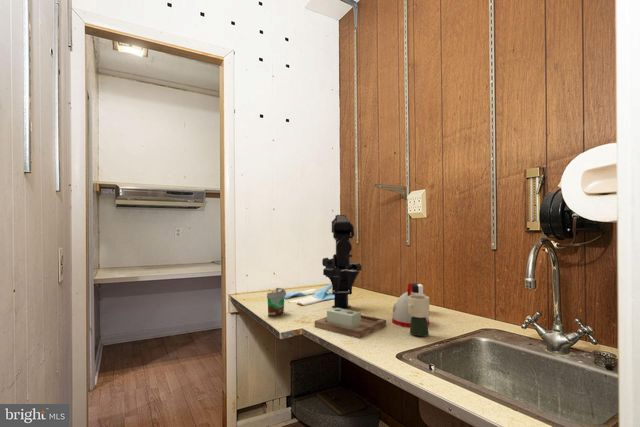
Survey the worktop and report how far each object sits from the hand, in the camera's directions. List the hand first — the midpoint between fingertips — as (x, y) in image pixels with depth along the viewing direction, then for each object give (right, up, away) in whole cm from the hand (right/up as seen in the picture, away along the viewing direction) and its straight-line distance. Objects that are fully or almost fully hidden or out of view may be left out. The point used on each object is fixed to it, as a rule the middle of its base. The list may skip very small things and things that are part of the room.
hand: (343, 290), depth 138 cm
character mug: (+25, -11, -21) cm, 34 cm away
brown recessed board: (+2, -11, -10) cm, 15 cm away
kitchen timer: (+26, -11, -6) cm, 29 cm away
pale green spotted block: (-1, -10, -13) cm, 16 cm away
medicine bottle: (+32, -12, +10) cm, 36 cm away
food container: (-27, -12, +8) cm, 31 cm away
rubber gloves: (-15, -14, +42) cm, 47 cm away
